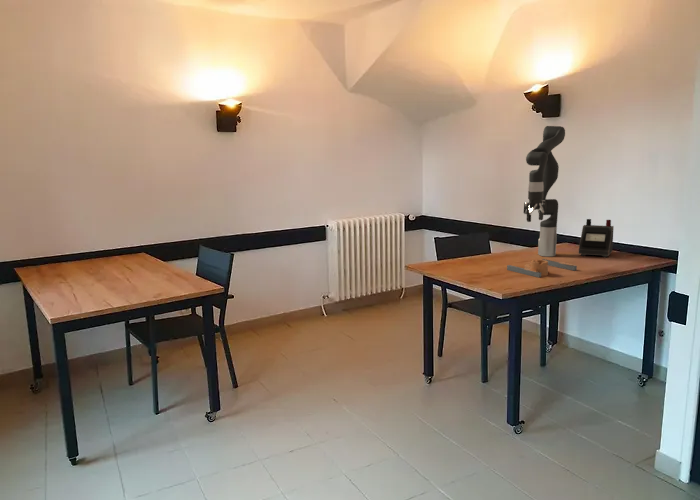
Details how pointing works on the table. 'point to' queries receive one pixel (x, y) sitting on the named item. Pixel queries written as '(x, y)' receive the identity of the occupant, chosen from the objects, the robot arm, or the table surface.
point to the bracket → (539, 266)
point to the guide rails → (538, 274)
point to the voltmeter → (596, 239)
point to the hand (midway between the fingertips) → (534, 220)
